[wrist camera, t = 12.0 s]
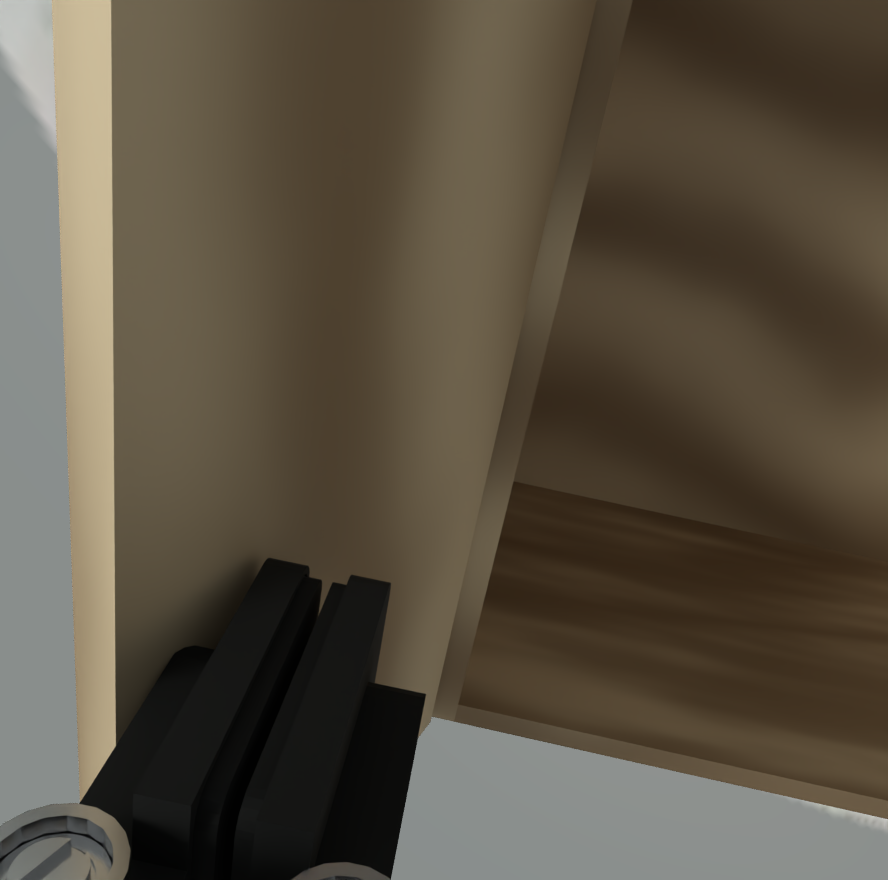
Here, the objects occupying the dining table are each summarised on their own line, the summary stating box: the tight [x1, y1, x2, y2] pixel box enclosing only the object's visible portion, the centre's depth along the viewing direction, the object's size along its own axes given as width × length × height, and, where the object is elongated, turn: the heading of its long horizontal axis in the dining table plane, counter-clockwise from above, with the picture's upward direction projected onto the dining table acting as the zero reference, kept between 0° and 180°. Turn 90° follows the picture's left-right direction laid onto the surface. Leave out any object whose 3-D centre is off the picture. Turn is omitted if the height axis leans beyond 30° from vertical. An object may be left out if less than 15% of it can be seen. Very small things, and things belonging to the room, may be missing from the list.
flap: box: [52, 0, 597, 802], centre depth 13 cm, size 10×19×1 cm
